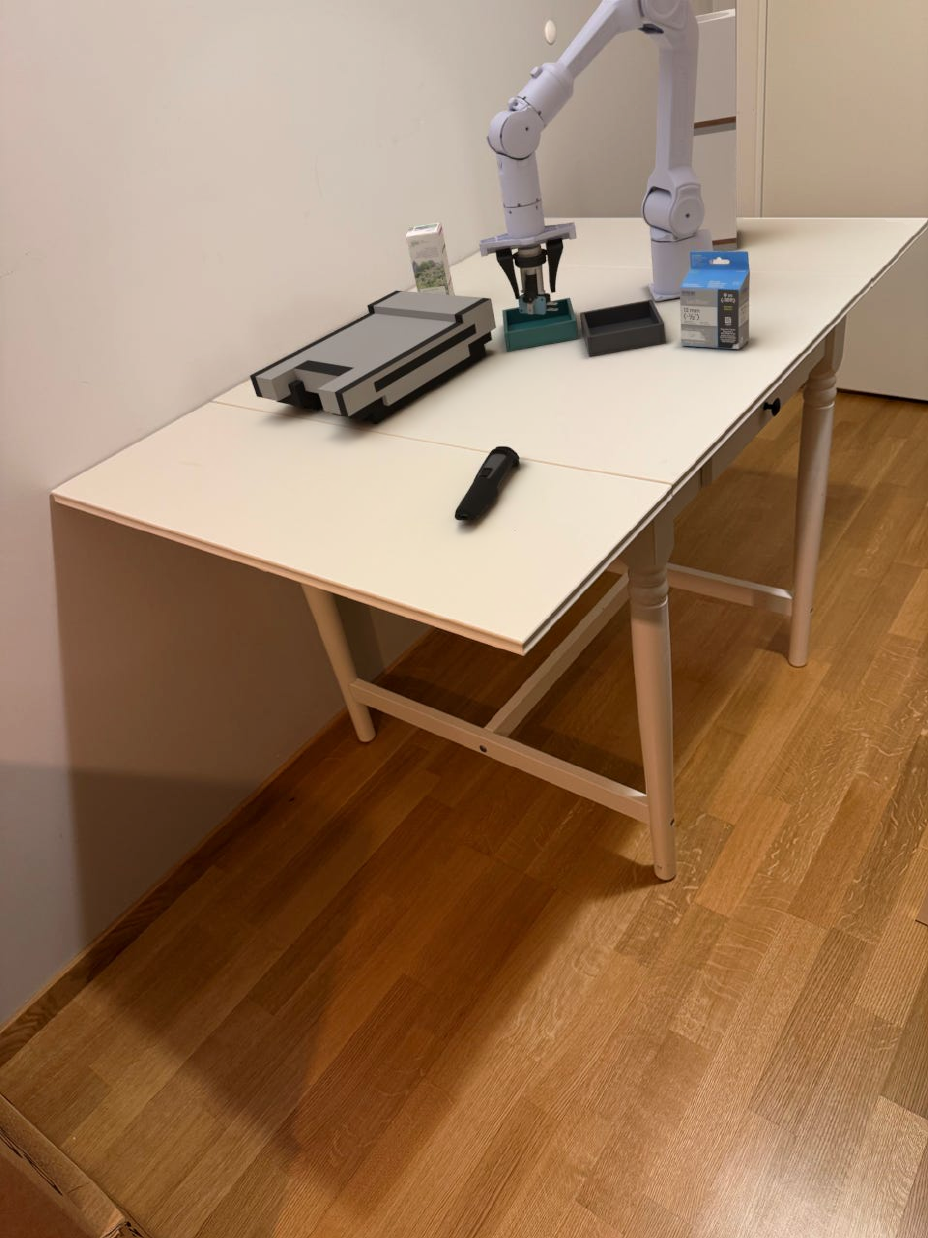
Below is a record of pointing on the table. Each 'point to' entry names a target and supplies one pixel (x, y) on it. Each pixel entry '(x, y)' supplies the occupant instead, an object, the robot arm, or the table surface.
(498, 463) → the electric trimmer
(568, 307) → the box
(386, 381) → the game console
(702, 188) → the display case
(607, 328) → the right tote
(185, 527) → the table surface
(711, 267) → the label tape box
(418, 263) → the syrup box
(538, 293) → the push button
